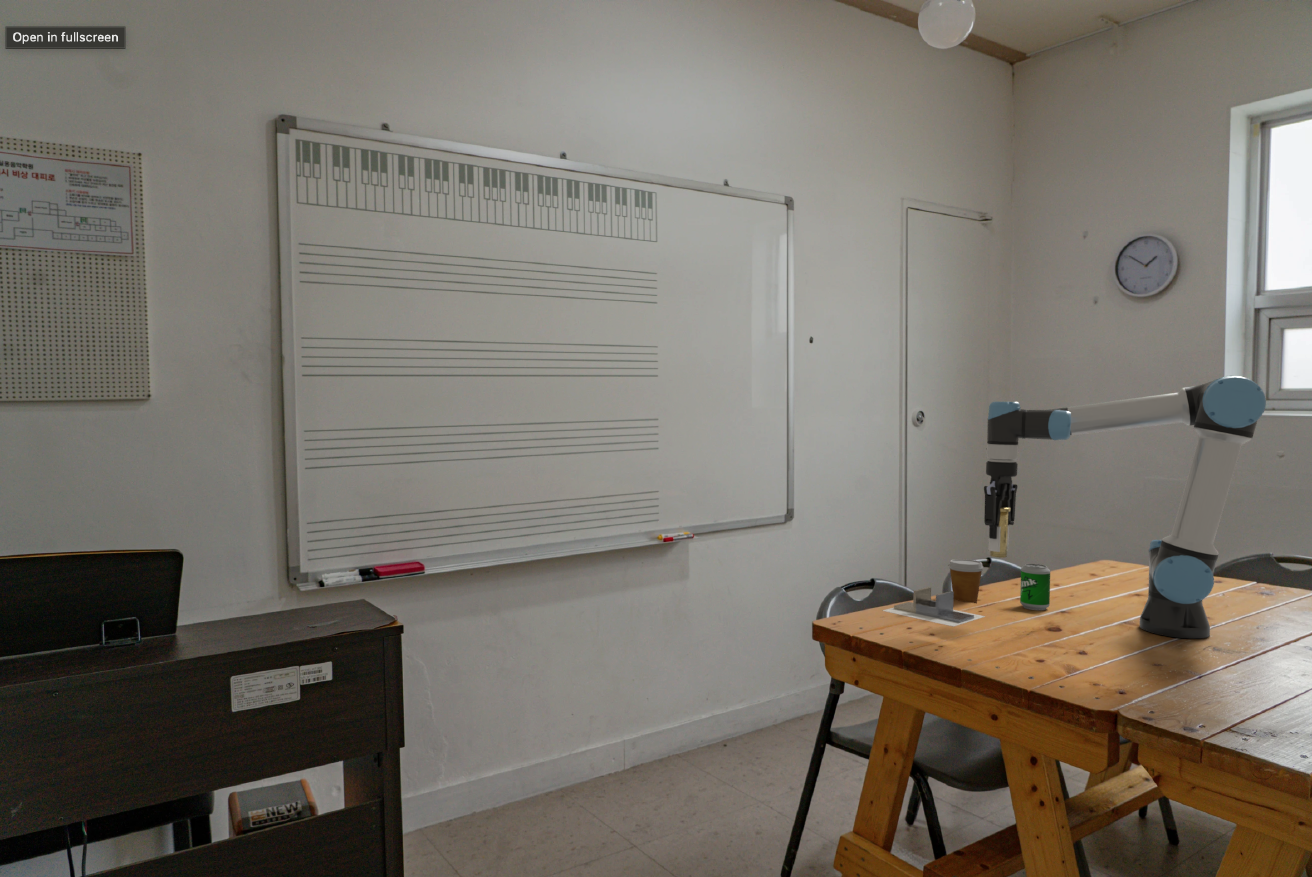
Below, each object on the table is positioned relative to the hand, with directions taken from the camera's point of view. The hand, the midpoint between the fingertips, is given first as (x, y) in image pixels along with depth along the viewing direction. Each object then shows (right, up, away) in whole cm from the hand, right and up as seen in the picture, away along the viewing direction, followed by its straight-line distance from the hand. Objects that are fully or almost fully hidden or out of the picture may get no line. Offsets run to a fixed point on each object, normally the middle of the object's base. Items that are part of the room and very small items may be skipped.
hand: (998, 550), depth 216 cm
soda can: (+18, -19, +17) cm, 31 cm away
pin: (0, -2, 0) cm, 2 cm away
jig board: (-15, -19, +5) cm, 25 cm away
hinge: (-15, -18, +5) cm, 24 cm away
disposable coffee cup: (0, -19, +23) cm, 29 cm away
